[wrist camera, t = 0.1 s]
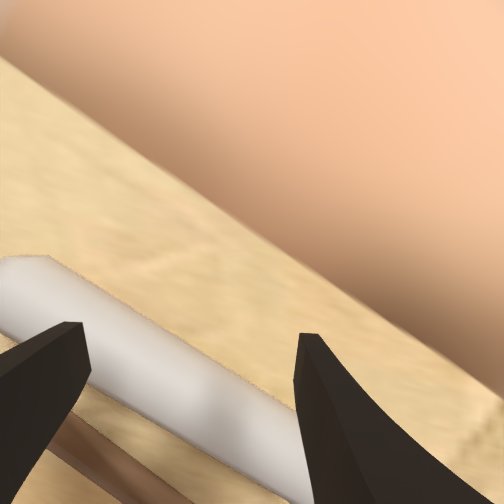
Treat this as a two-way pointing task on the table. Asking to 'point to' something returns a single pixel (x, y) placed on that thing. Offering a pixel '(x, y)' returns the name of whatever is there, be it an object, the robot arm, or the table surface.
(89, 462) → the bay
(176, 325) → the table surface
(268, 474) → the tube
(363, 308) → the table surface
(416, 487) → the robot arm
